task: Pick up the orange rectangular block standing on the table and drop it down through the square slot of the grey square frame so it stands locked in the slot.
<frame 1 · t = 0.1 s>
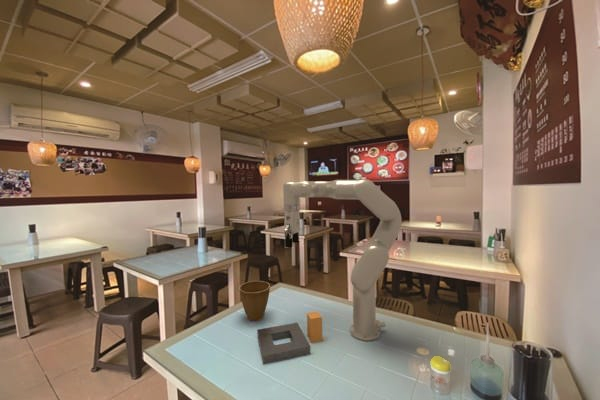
hand: (292, 244, 117), 37 cm above the table, tool pointing down, fingers open, 9 cm apart
orange rectangular block: (314, 338, 105), on the table
plant pot: (255, 318, 122), on the table
grey square frame: (282, 344, 101), on the table
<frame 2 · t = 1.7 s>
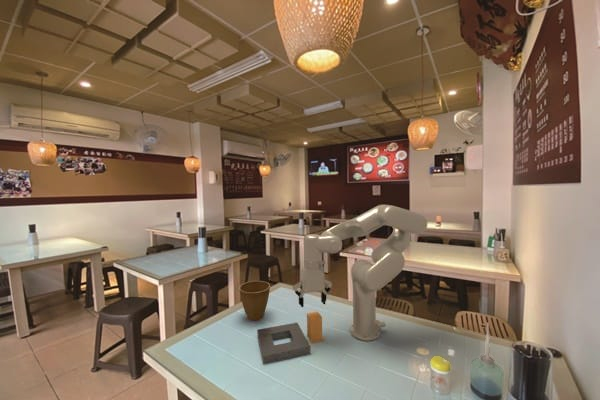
hand: (312, 304, 104), 15 cm above the table, tool pointing down, fingers open, 9 cm apart
nothing on the table moved.
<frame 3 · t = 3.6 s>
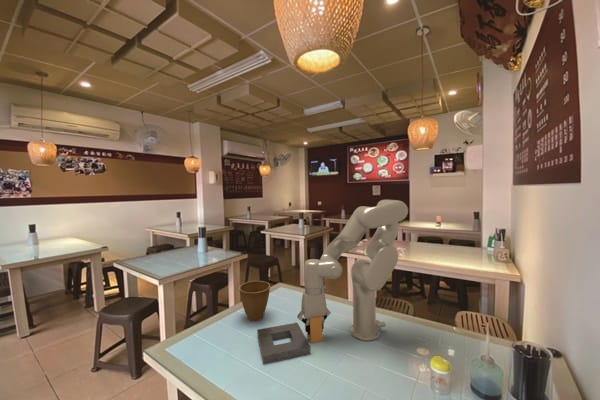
hand: (314, 331, 105), 3 cm above the table, tool pointing down, fingers closed on orange rectangular block, 5 cm apart
orange rectangular block: (314, 338, 105), on the table, touching gripper
everything else where it was.
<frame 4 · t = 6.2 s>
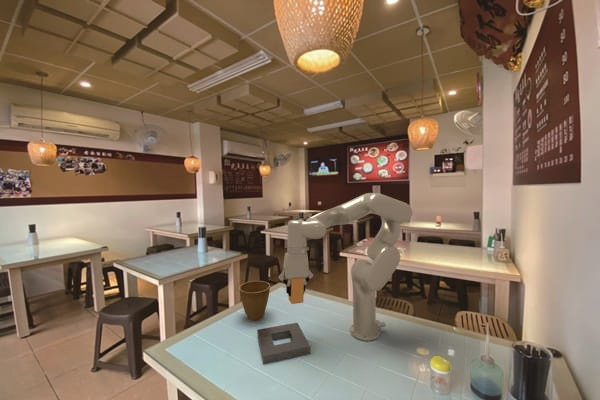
hand: (295, 293, 102), 20 cm above the table, tool pointing down, fingers closed on orange rectangular block, 5 cm apart
orange rectangular block: (295, 300, 102), point 17 cm above the table, touching gripper
everything else where it was.
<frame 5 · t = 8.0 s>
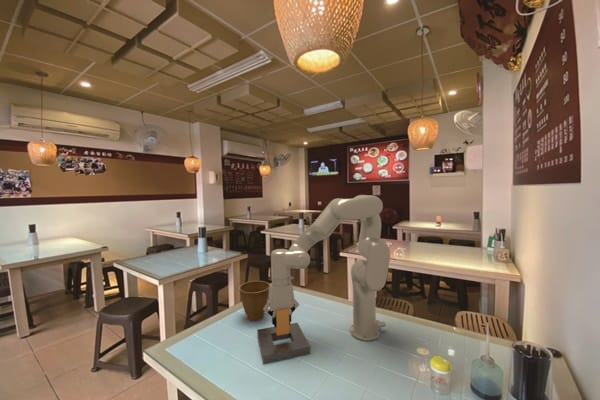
hand: (281, 324, 100), 9 cm above the table, tool pointing down, fingers closed on orange rectangular block, 5 cm apart
orange rectangular block: (282, 331, 101), point 6 cm above the table, touching gripper
everything else where it was.
when the fingers open (5 cm above the table, at t = 9.2 s): orange rectangular block drops 2 cm, resting in grey square frame.
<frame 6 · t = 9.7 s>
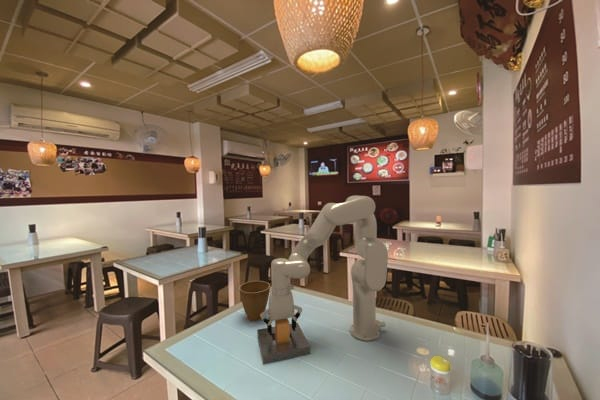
hand: (282, 331, 101), 5 cm above the table, tool pointing down, fingers open, 9 cm apart
orange rectangular block: (282, 344, 101), resting in grey square frame
everything else where it was.
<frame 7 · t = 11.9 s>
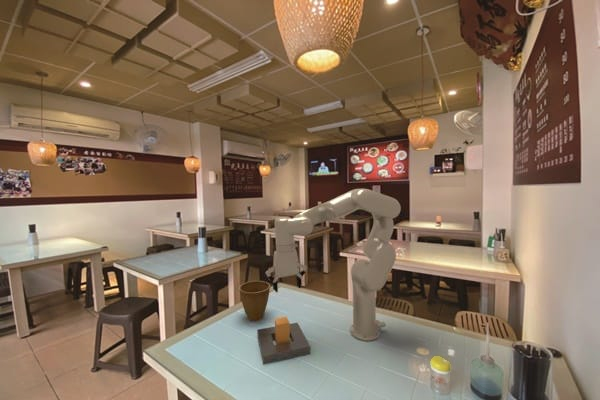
hand: (287, 289, 102), 22 cm above the table, tool pointing down, fingers open, 9 cm apart
nothing on the table moved.
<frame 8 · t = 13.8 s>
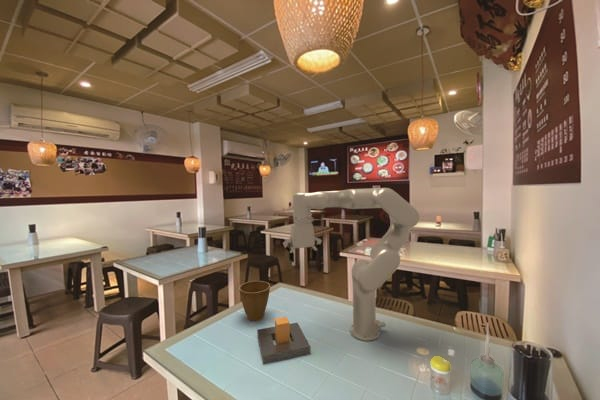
hand: (303, 260, 107), 32 cm above the table, tool pointing down, fingers open, 9 cm apart
nothing on the table moved.
at the end: orange rectangular block 0.1 cm off-centre on the grey square frame, point 0.0 cm above the grey square frame's base; orange rectangular block tilted 0°; the gripper is holding nothing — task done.
